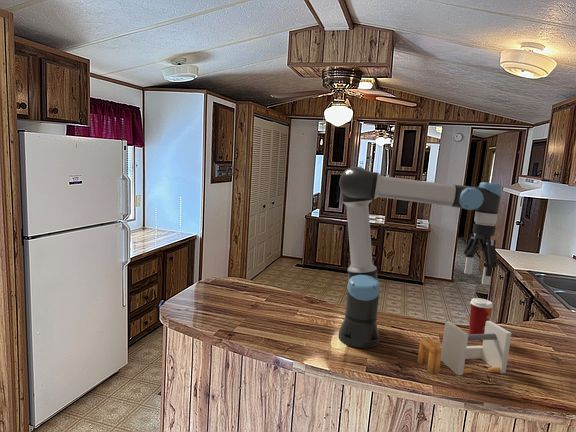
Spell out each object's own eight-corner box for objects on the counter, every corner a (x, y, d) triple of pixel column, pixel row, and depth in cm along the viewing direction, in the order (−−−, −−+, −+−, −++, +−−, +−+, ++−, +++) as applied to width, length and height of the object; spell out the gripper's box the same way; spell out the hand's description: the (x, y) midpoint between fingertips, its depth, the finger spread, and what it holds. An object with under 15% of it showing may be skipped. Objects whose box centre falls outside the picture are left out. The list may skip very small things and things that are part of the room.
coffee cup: (490, 342, 155) (496, 306, 153) (468, 339, 157) (473, 303, 155) (484, 333, 164) (489, 299, 162) (463, 330, 165) (468, 296, 163)
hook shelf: (457, 375, 129) (463, 334, 127) (437, 357, 140) (442, 319, 138) (505, 373, 132) (511, 333, 130) (481, 356, 143) (487, 319, 142)
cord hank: (439, 373, 129) (443, 348, 128) (428, 374, 128) (432, 348, 127) (426, 361, 136) (430, 337, 135) (416, 362, 135) (419, 337, 134)
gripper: (514, 230, 136) (504, 289, 139) (477, 219, 161) (470, 270, 164) (493, 228, 136) (483, 288, 139) (459, 218, 161) (452, 268, 164)
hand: (476, 278), depth 152 cm, fingers open, 13 cm apart
